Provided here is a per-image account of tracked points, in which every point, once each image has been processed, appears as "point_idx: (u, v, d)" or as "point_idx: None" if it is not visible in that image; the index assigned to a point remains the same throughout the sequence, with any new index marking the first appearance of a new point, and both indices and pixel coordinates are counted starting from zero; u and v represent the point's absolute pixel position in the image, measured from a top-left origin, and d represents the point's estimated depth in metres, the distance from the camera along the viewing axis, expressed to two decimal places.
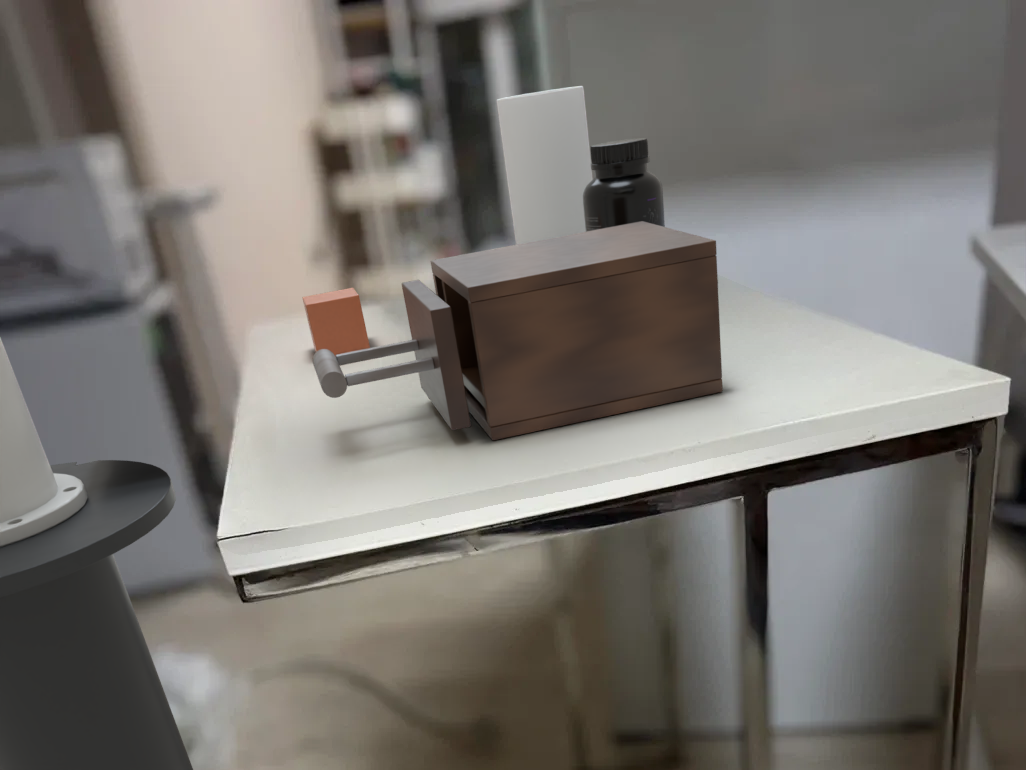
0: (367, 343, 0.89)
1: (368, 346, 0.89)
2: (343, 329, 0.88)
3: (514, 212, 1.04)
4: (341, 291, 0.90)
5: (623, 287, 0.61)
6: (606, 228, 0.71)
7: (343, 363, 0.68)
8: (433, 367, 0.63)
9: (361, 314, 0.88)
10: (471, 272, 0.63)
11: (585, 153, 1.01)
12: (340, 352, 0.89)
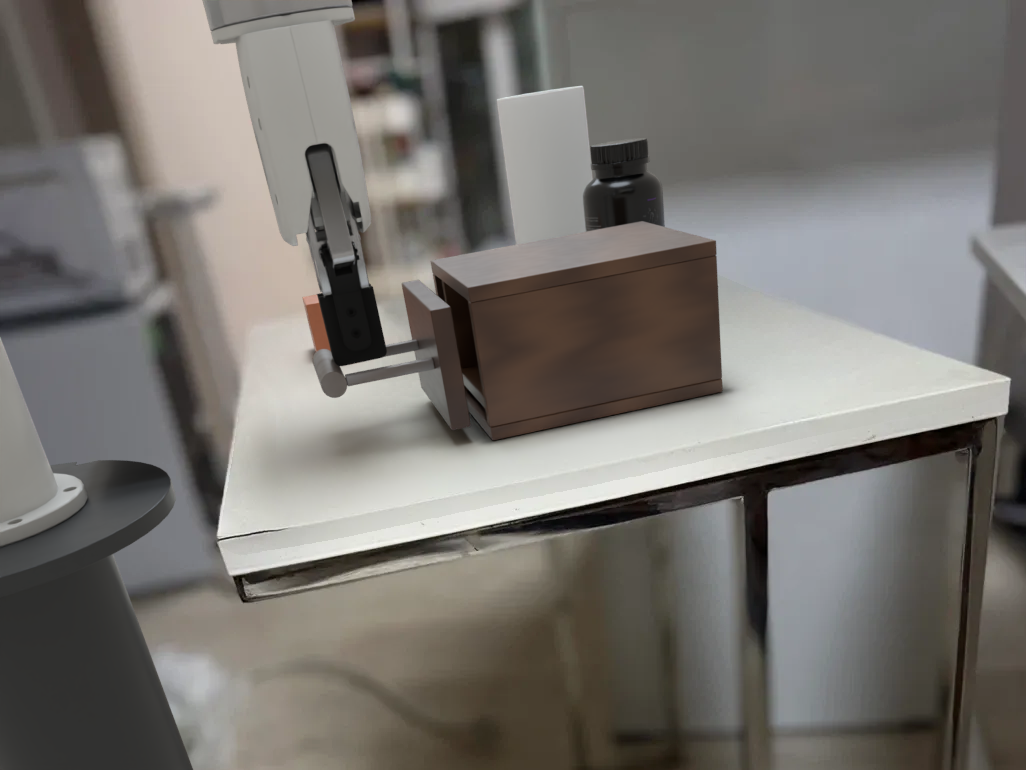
0: None
1: None
2: None
3: (514, 212, 1.04)
4: None
5: (623, 287, 0.61)
6: (606, 228, 0.71)
7: None
8: (433, 367, 0.63)
9: None
10: (471, 272, 0.63)
11: (585, 153, 1.01)
12: None
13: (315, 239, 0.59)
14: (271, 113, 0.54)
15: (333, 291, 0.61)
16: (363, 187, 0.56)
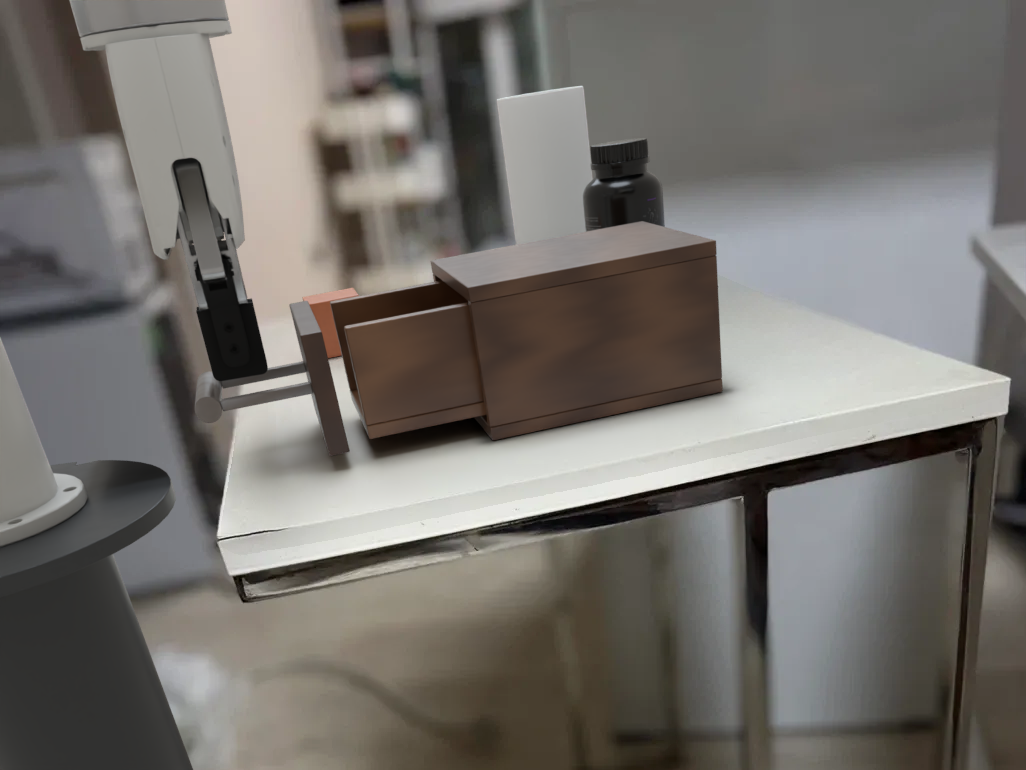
0: None
1: None
2: None
3: (514, 212, 1.04)
4: (341, 291, 0.90)
5: (623, 287, 0.61)
6: (606, 228, 0.71)
7: (228, 386, 0.66)
8: (311, 391, 0.62)
9: None
10: (471, 272, 0.63)
11: (585, 153, 1.01)
12: (340, 352, 0.89)
13: (189, 253, 0.58)
14: (135, 125, 0.53)
15: (209, 305, 0.60)
16: (233, 203, 0.55)
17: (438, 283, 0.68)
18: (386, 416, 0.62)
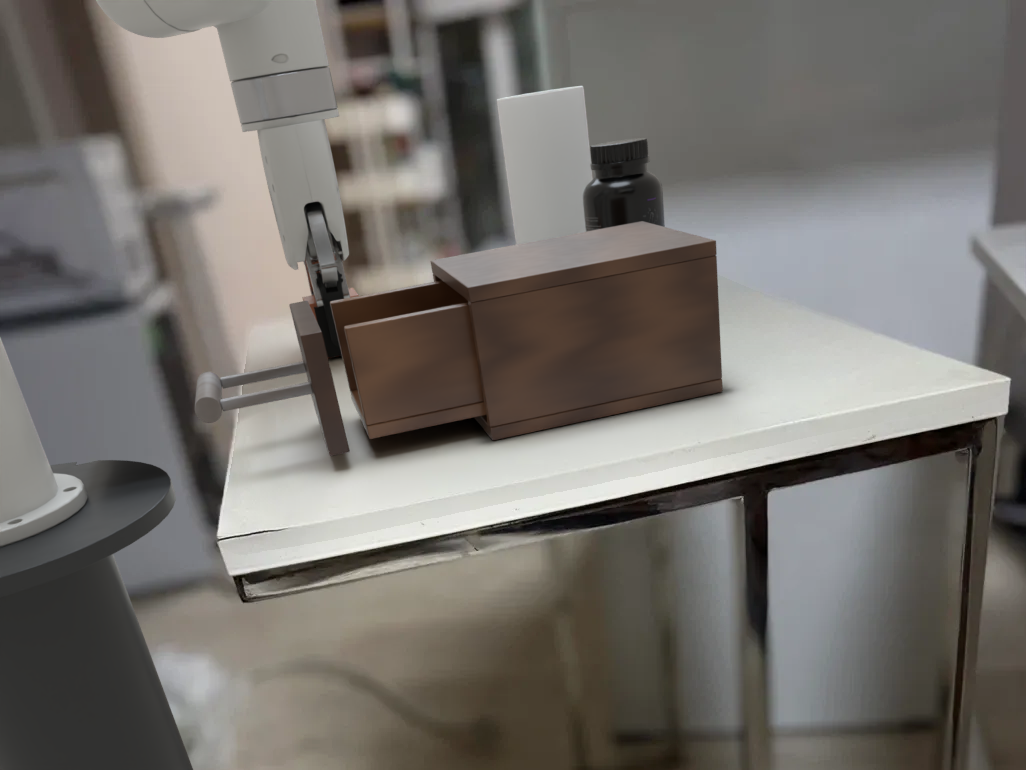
0: None
1: None
2: None
3: (514, 212, 1.04)
4: None
5: (623, 287, 0.61)
6: (606, 228, 0.71)
7: (228, 386, 0.66)
8: (311, 391, 0.62)
9: None
10: (471, 272, 0.63)
11: (585, 153, 1.01)
12: None
13: (310, 263, 0.84)
14: (281, 181, 0.80)
15: (324, 303, 0.85)
16: (343, 230, 0.82)
17: (438, 283, 0.68)
18: (386, 416, 0.62)
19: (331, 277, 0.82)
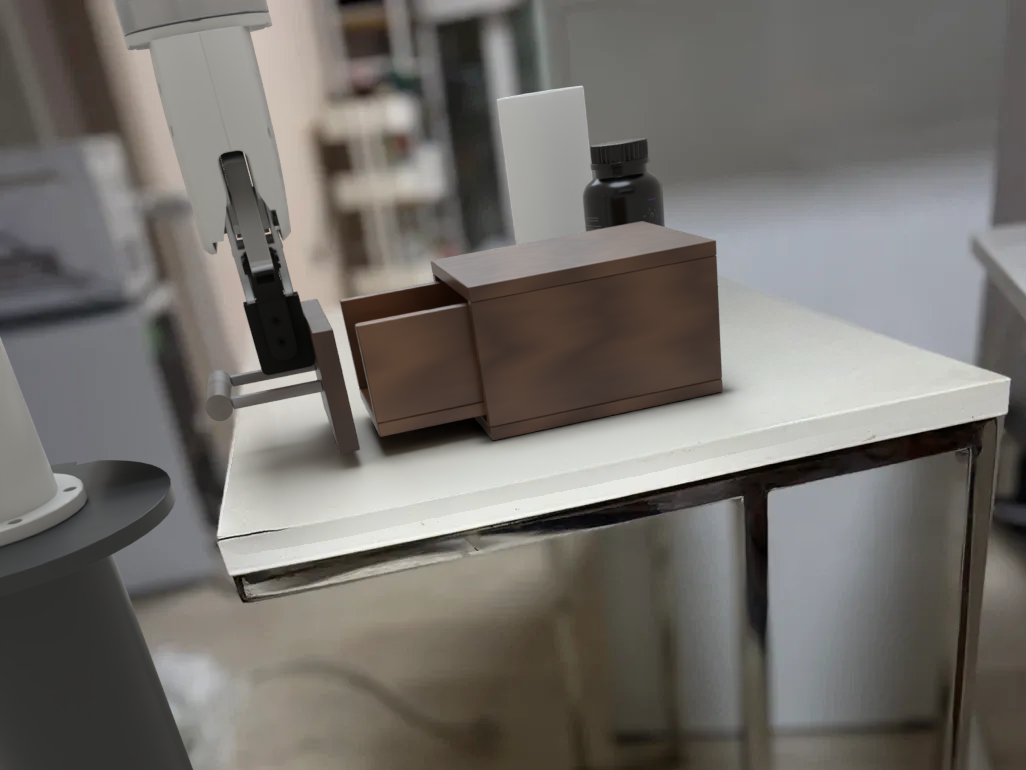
0: None
1: None
2: None
3: (514, 212, 1.04)
4: None
5: (623, 287, 0.61)
6: (606, 228, 0.71)
7: (238, 384, 0.67)
8: (322, 389, 0.62)
9: None
10: (471, 272, 0.63)
11: (585, 153, 1.01)
12: None
13: (236, 247, 0.58)
14: (182, 120, 0.53)
15: (256, 299, 0.60)
16: (280, 194, 0.55)
17: None
18: (396, 414, 0.62)
19: (265, 273, 0.58)
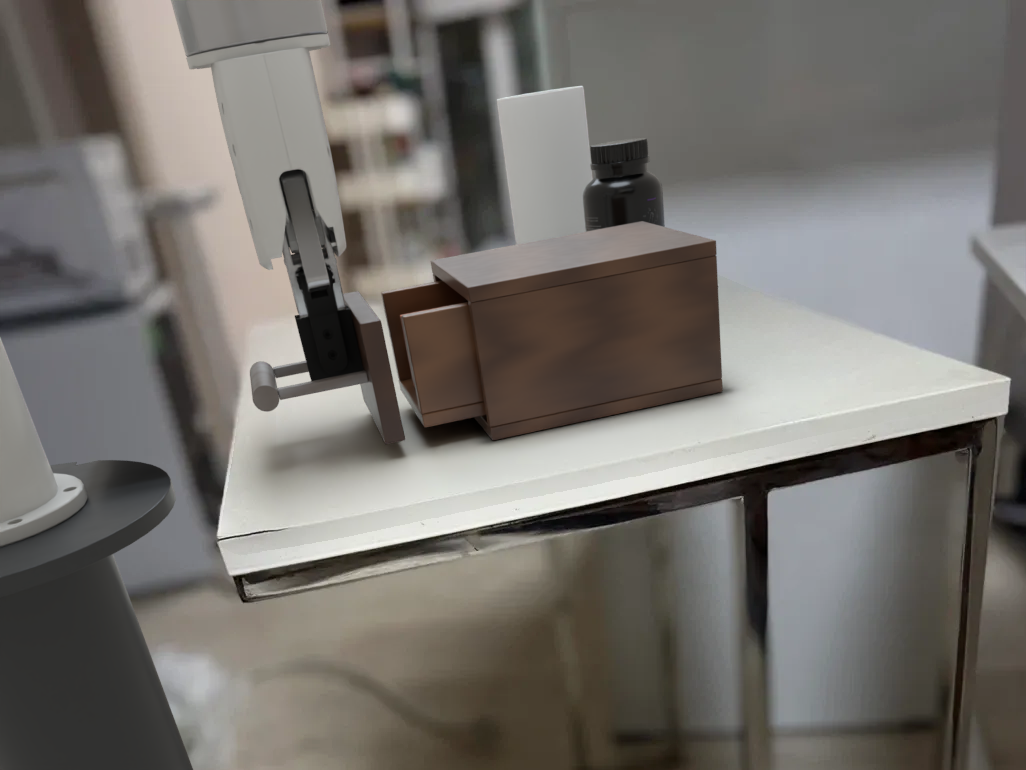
0: None
1: None
2: None
3: (514, 212, 1.04)
4: None
5: (623, 287, 0.61)
6: (606, 228, 0.71)
7: (280, 375, 0.67)
8: (367, 380, 0.63)
9: None
10: (471, 272, 0.63)
11: (585, 153, 1.01)
12: None
13: (291, 262, 0.60)
14: (245, 139, 0.54)
15: (309, 313, 0.61)
16: (337, 212, 0.57)
17: None
18: (441, 405, 0.63)
19: (321, 288, 0.59)
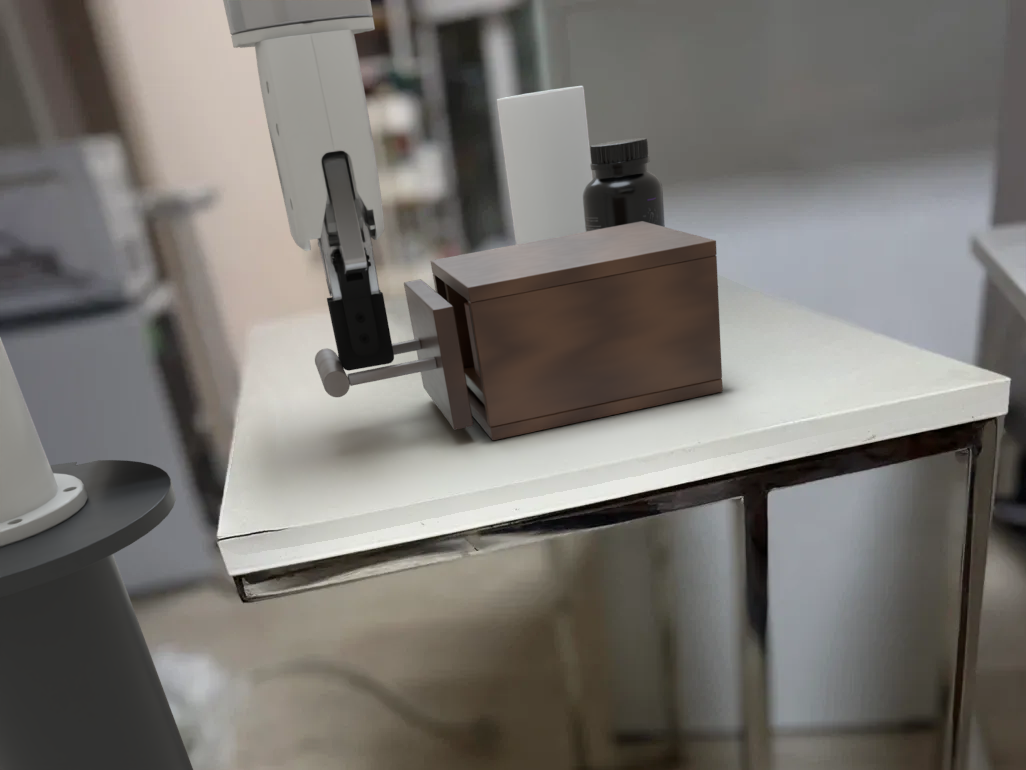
0: None
1: None
2: None
3: (514, 212, 1.04)
4: None
5: (623, 287, 0.61)
6: (606, 228, 0.71)
7: None
8: (435, 367, 0.63)
9: None
10: (471, 272, 0.63)
11: (585, 153, 1.01)
12: None
13: (327, 244, 0.60)
14: (289, 119, 0.54)
15: (343, 296, 0.62)
16: (377, 195, 0.57)
17: None
18: None
19: (357, 271, 0.59)
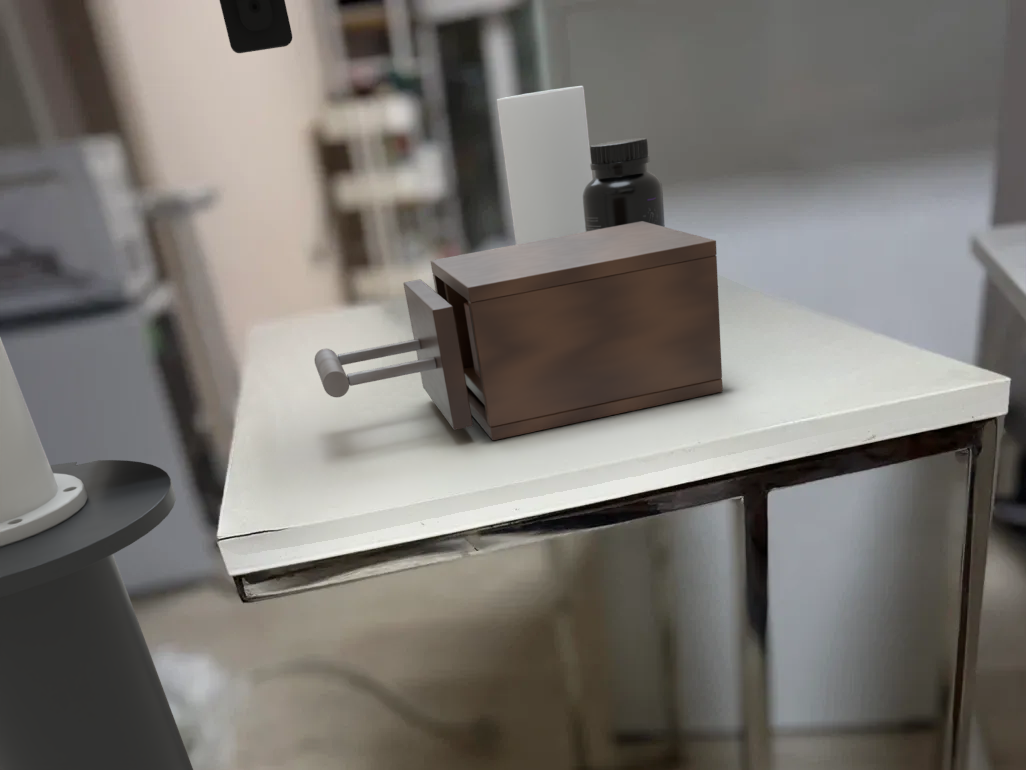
0: None
1: None
2: None
3: (514, 212, 1.04)
4: None
5: (623, 287, 0.61)
6: (606, 228, 0.71)
7: (345, 363, 0.68)
8: (435, 367, 0.63)
9: None
10: (471, 272, 0.63)
11: (585, 153, 1.01)
12: None
13: None
14: None
15: None
16: None
17: None
18: None
19: None
